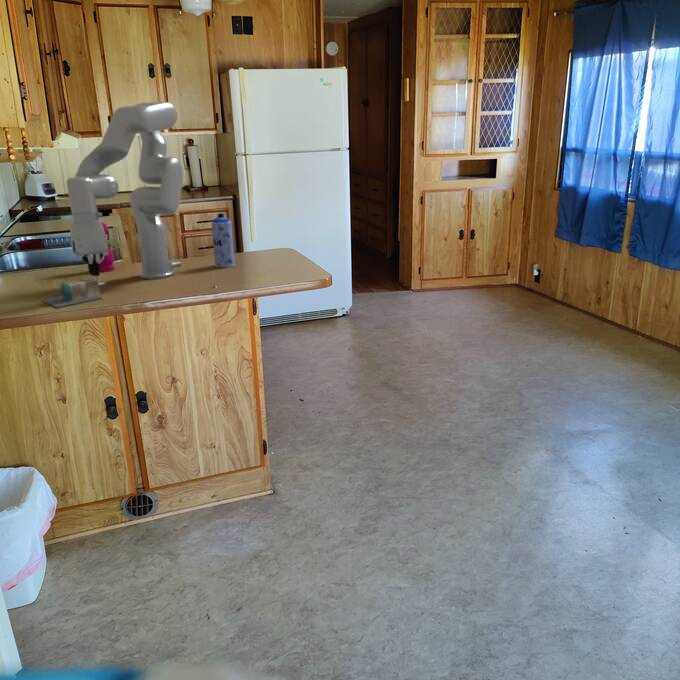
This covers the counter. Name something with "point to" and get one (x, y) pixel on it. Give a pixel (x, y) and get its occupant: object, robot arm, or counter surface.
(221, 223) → the aerosol can
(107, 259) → the pepper mill
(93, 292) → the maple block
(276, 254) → the counter surface
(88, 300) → the rubber mat
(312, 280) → the counter surface
